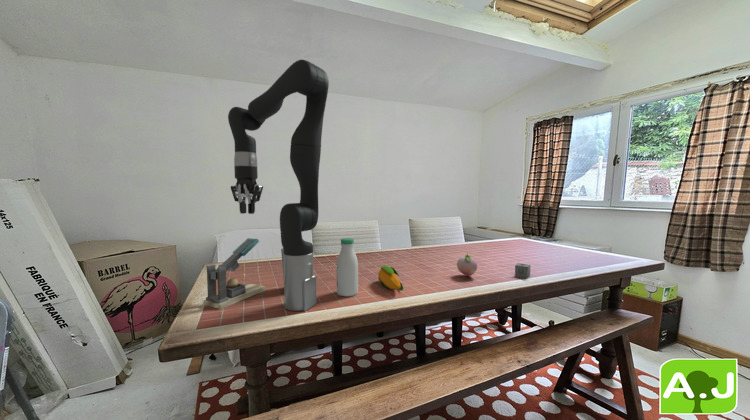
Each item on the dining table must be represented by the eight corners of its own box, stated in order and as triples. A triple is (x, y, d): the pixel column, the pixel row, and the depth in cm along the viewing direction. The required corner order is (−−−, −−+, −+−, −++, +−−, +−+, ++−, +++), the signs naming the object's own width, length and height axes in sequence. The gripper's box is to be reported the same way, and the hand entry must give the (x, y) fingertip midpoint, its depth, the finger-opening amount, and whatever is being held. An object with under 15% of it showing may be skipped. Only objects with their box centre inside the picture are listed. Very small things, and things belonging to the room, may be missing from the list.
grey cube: (530, 275, 125) (530, 264, 124) (527, 278, 121) (527, 267, 121) (517, 273, 128) (518, 263, 128) (514, 276, 124) (515, 265, 124)
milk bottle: (362, 293, 103) (362, 238, 102) (346, 298, 97) (346, 241, 96) (348, 288, 108) (348, 236, 107) (332, 293, 102) (332, 238, 101)
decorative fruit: (455, 273, 129) (455, 251, 128) (473, 273, 127) (474, 252, 127) (458, 279, 119) (458, 256, 119) (478, 280, 118) (479, 256, 118)
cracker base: (265, 290, 106) (265, 256, 105) (220, 309, 89) (219, 269, 88) (249, 287, 109) (249, 254, 108) (203, 305, 92) (201, 266, 91)
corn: (391, 261, 119) (408, 274, 100) (392, 279, 120) (410, 295, 100) (374, 263, 117) (388, 277, 98) (375, 281, 118) (390, 298, 99)
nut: (241, 287, 98) (240, 277, 98) (232, 290, 95) (231, 280, 95) (233, 286, 100) (233, 276, 99) (224, 289, 96) (224, 279, 96)
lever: (259, 267, 105) (259, 238, 104) (218, 280, 89) (217, 246, 89) (249, 266, 107) (249, 238, 106) (207, 278, 91) (206, 245, 91)
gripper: (268, 165, 102) (269, 213, 103) (240, 167, 107) (241, 212, 108) (252, 163, 95) (253, 214, 96) (222, 165, 100) (224, 213, 101)
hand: (247, 213), depth 102 cm, fingers open, 3 cm apart
